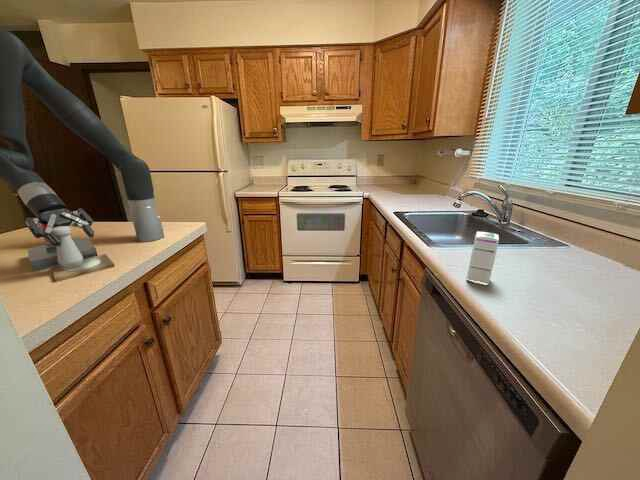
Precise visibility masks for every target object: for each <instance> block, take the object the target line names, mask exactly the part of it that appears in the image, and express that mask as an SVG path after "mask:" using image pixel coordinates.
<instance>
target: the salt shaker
mask: <svg viewBox="0 0 640 480" xmlns="http://www.w3.org/2000/svg"><path fill="white" fill-rule="evenodd" d="M51 233H54V234H55V236H56V237H57V238H58V239H59V240H60V241H61V245H60V246H58V247H57V246H56V247H57V259H58V263H59V264H60V265H61V266H62V267H63V268H64V269H72V268H77V267H79V266H81V265H82V261H83V256H82V254H81V253H80V251H79V250H78V248H77V246H76V245H75V243H74V242H73V240H74V239H72V237H71V235H70V234H71V233H72V228H71V227H70V226H59V227H55V228H53V229H52V231H51Z"/></svg>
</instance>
